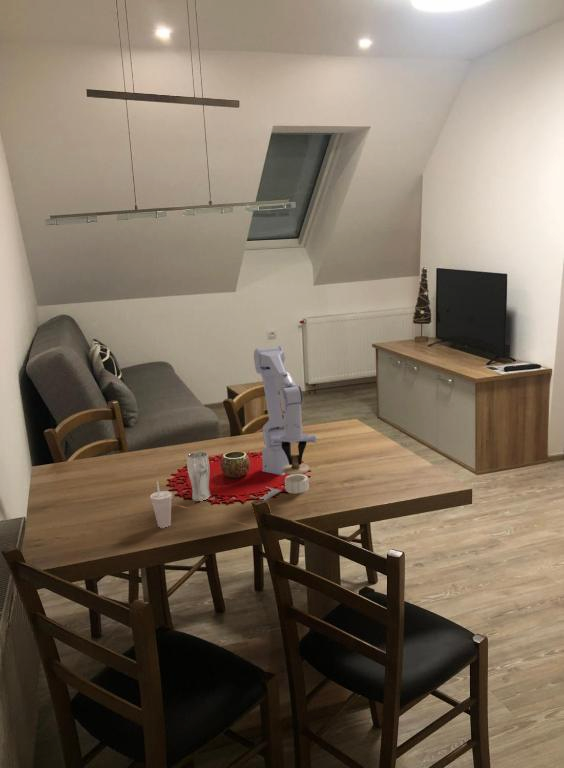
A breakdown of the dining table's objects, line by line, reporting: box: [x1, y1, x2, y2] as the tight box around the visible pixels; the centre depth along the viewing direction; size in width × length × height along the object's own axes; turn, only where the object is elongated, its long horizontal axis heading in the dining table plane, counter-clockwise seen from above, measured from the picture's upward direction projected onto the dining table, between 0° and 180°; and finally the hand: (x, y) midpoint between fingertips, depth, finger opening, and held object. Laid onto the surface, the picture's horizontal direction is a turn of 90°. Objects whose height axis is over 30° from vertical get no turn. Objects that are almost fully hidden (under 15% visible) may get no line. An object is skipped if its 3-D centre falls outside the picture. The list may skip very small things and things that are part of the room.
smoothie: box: [149, 480, 173, 529], centre depth 187 cm, size 6×6×14 cm
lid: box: [282, 453, 310, 475], centre depth 206 cm, size 9×9×5 cm
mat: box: [255, 486, 283, 502], centre depth 207 cm, size 9×9×1 cm
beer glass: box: [186, 451, 212, 502], centre depth 205 cm, size 7×7×15 cm
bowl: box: [284, 473, 310, 495], centre depth 208 cm, size 8×8×4 cm
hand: (295, 463), depth 206 cm, fingers closed on lid, 3 cm apart
